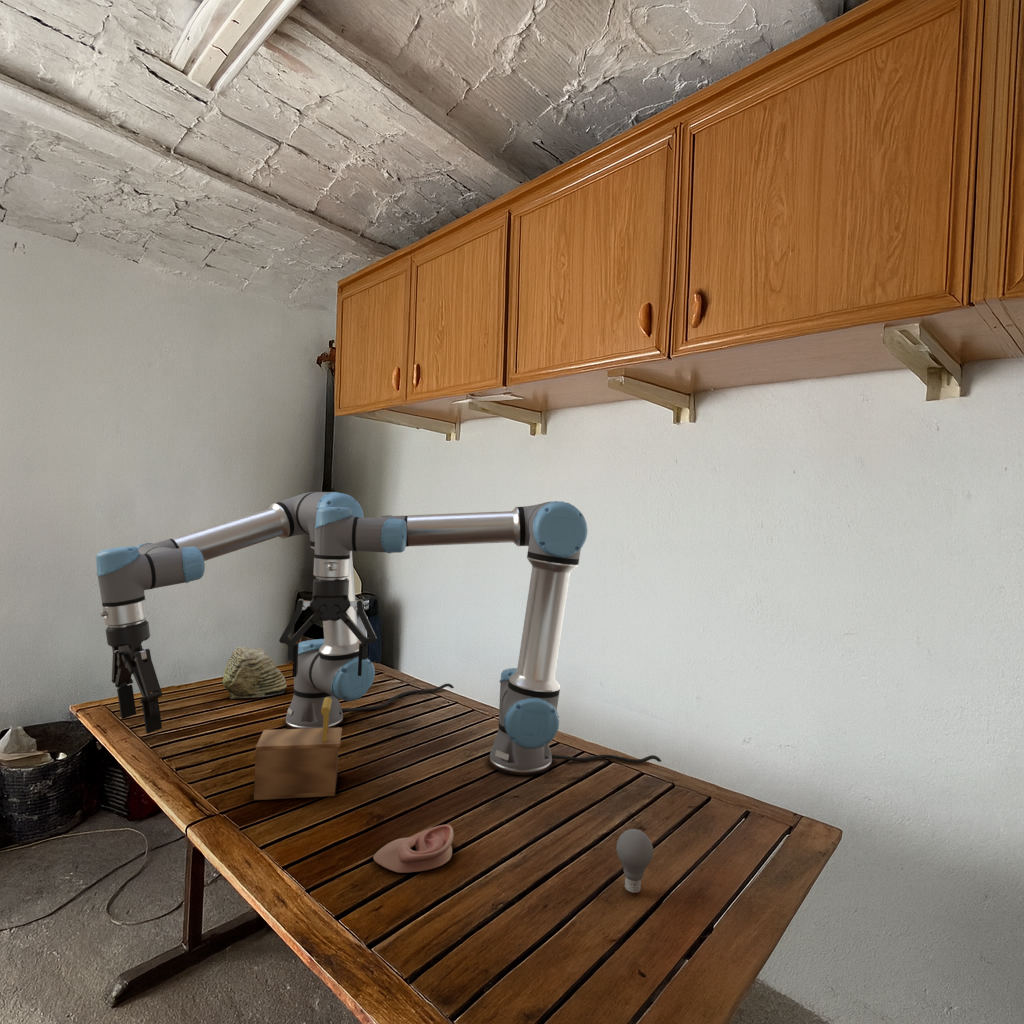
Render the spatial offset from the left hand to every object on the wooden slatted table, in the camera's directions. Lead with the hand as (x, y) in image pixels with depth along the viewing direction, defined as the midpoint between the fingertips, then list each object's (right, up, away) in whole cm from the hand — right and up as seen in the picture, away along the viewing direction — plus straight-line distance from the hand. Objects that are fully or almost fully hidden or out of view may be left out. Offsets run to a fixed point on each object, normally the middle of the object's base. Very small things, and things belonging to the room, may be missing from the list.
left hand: (141, 723), depth 131 cm
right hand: (+36, +8, +7) cm, 38 cm away
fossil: (-4, -14, +67) cm, 69 cm away
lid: (+31, -6, +6) cm, 32 cm away
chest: (+30, -16, +7) cm, 35 cm away
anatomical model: (+59, -18, -18) cm, 64 cm away
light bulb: (+97, -20, -25) cm, 102 cm away
